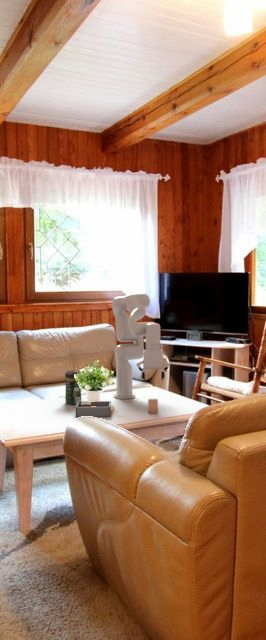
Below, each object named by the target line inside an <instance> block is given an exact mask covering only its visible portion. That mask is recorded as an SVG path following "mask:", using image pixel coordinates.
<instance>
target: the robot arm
mask: <svg viewBox="0 0 266 640" xmlns="http://www.w3.org/2000/svg"><path fill="white" fill-rule="evenodd" d="M150 299H151V298H150V296H149V295H148V294H146V293H142V292H141V293H140V292H139V293H134V292H133V293H129V294H127V295H124V296H121V295H120V296H116V297H114V298H113V299H112V303H111V308H112V312H113V315H114V319H115V336H116V340H117V341H118V342H121V343H122V344H118V345H116V347H115V348H114V356H115V365H116V372H115V373H116V374H115V375H116V376H115V377H116V387H115V388H116V393H114V394H113V398H115V399H119V400H122V399H123V400H128V399H134V398H136V394H135V393H133V366H132V364H131V363H130V362H129V361H135V360H140V361H139V362H137V363H136V367H137V369H138V370H139V371H140V372H141V379H142V380H143V381H145V380H146V378H145V375H146V373H145V371H146V370H161V377H160V378H161V381H163V380H164V379H165V372H166V371H167V370H168V369H169V367H170V363H169V362H167V361H166V360H164V359H163V350H162V349H161V348H164V344H162V343H161V325H160V324H159V323H156V322H154V321H143V322H142V321H140V322H139V320H141V319H143V318H144V317H145V316H146V313H147V311H146V309H147V308H149V307H150V304H151V300H150ZM126 311H128V312H129V314H128V313H127V312H126ZM137 321H138V322H137ZM144 337H145V346H144ZM124 342H125V343H124ZM127 342H129V343H127ZM131 342H133V343H131ZM123 343H124V344H123ZM144 347H145V348H144ZM141 359H143V360H141ZM141 365H142V366H143V367H141ZM164 365H166V366H165V367H163V366H164Z"/></svg>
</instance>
